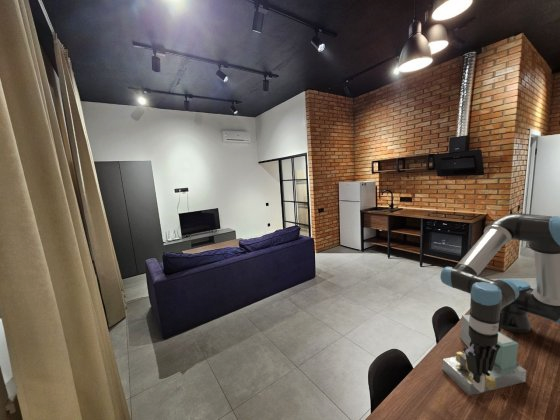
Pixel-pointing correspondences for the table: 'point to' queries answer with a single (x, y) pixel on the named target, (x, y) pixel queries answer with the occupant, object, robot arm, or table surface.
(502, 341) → the mint green box
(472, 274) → the robot arm
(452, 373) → the white base platform
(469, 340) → the supplement box
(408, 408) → the table surface
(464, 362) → the hammer with yellow handle
